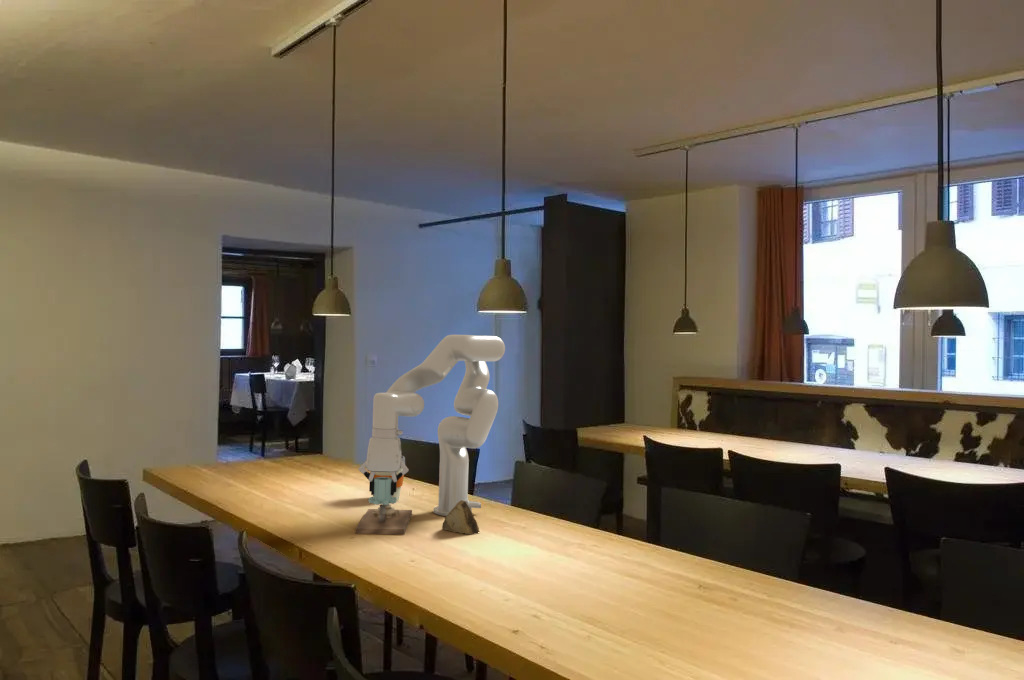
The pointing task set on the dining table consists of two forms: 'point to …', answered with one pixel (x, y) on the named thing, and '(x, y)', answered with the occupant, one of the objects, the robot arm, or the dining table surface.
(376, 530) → the gear board
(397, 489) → the reusable coffee cup
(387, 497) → the loose cog
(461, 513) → the rock
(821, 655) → the dining table surface
